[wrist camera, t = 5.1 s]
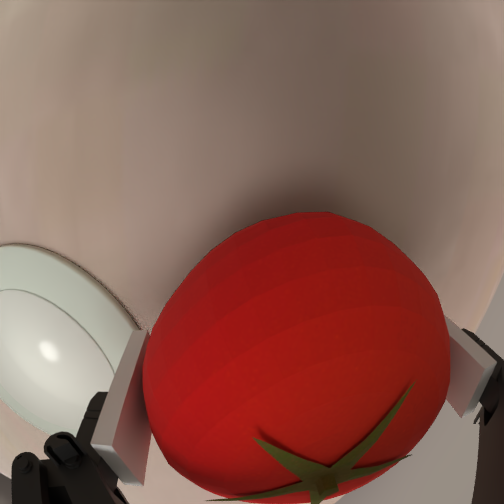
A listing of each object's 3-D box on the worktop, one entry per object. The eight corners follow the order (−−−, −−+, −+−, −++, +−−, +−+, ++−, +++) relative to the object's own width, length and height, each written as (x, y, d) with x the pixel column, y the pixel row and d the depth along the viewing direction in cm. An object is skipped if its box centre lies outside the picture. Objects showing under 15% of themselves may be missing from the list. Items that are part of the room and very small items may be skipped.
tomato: (136, 348, 16) (88, 510, 6) (241, 151, 13) (304, 145, 3) (293, 407, 19) (332, 540, 9) (408, 263, 16) (540, 364, 6)
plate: (-59, 260, 15) (-67, 265, 14) (118, 221, 17) (110, 226, 15) (23, 427, 21) (19, 435, 20) (186, 441, 23) (186, 452, 21)
